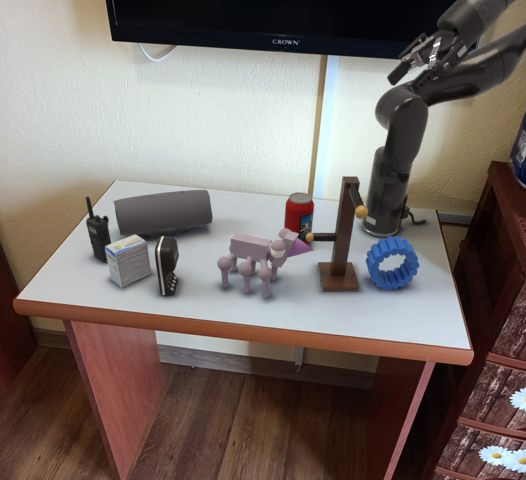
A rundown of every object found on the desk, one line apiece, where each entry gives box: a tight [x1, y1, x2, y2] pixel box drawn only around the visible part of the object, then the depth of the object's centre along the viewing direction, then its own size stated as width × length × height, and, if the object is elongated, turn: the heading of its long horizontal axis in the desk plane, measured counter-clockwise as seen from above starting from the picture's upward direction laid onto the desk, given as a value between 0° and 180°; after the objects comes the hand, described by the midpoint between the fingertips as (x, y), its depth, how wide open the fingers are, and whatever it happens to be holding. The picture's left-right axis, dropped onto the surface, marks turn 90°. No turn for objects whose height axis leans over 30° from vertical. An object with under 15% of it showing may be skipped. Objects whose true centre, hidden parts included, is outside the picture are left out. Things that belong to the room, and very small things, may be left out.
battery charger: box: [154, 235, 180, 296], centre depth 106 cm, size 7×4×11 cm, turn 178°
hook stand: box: [306, 175, 368, 292], centre depth 104 cm, size 17×12×23 cm
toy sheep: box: [217, 228, 314, 298], centre depth 107 cm, size 20×11×14 cm, turn 70°
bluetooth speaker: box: [113, 189, 214, 237], centre depth 125 cm, size 23×9×10 cm, turn 108°
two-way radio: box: [85, 196, 112, 263], centre depth 114 cm, size 6×4×15 cm
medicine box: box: [105, 234, 152, 288], centre depth 110 cm, size 8×4×9 cm, turn 134°
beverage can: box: [283, 191, 315, 246], centre depth 122 cm, size 7×7×12 cm
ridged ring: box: [365, 235, 420, 291], centre depth 110 cm, size 5×10×11 cm, turn 92°
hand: (400, 86), depth 94 cm, fingers open, 8 cm apart
